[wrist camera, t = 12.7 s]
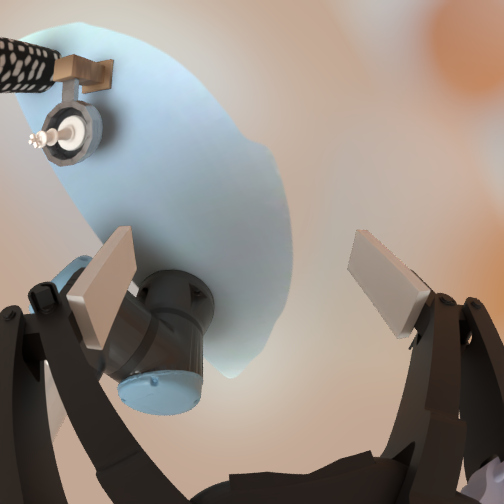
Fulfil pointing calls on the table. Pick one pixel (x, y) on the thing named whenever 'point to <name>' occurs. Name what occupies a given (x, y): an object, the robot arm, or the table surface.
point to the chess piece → (63, 134)
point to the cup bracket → (68, 109)
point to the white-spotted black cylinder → (25, 67)
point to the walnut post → (84, 72)
